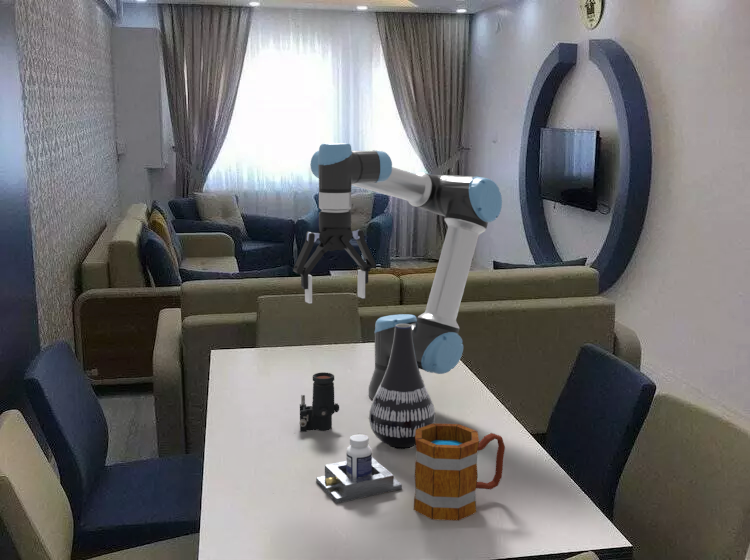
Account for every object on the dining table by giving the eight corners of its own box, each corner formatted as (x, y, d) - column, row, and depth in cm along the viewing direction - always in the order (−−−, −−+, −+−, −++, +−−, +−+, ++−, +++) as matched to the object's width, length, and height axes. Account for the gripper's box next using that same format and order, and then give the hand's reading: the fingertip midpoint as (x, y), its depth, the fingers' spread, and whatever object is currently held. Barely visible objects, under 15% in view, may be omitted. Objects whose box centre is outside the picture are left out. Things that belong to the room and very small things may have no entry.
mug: (426, 525, 153) (428, 452, 150) (401, 495, 165) (402, 426, 163) (517, 511, 159) (520, 440, 156) (487, 482, 172) (489, 416, 169)
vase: (388, 462, 182) (389, 337, 176) (357, 438, 195) (357, 321, 190) (447, 449, 189) (450, 329, 183) (413, 427, 203) (415, 314, 197)
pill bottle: (375, 477, 171) (375, 434, 169) (366, 488, 166) (367, 444, 164) (351, 473, 173) (351, 431, 171) (342, 484, 168) (342, 440, 166)
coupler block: (378, 469, 178) (378, 454, 177) (401, 489, 168) (402, 473, 168) (316, 481, 171) (316, 466, 171) (336, 503, 162) (336, 487, 161)
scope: (299, 371, 203) (338, 370, 204) (299, 422, 205) (338, 421, 206) (298, 381, 195) (339, 380, 196) (299, 434, 197) (339, 433, 198)
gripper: (376, 206, 193) (375, 292, 197) (278, 211, 182) (280, 301, 186) (390, 209, 187) (389, 298, 191) (290, 214, 176) (291, 308, 180)
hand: (335, 300), depth 189 cm, fingers open, 13 cm apart
